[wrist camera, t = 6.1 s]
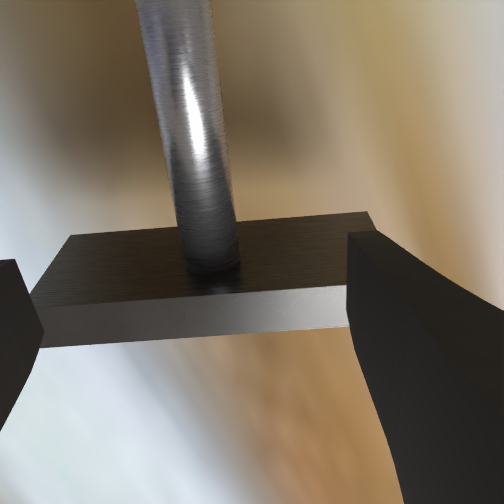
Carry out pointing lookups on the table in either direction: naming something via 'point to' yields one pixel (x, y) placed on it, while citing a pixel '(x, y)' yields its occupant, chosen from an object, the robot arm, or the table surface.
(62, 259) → the shaft
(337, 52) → the table surface
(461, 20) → the table surface
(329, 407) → the table surface
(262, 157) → the table surface
